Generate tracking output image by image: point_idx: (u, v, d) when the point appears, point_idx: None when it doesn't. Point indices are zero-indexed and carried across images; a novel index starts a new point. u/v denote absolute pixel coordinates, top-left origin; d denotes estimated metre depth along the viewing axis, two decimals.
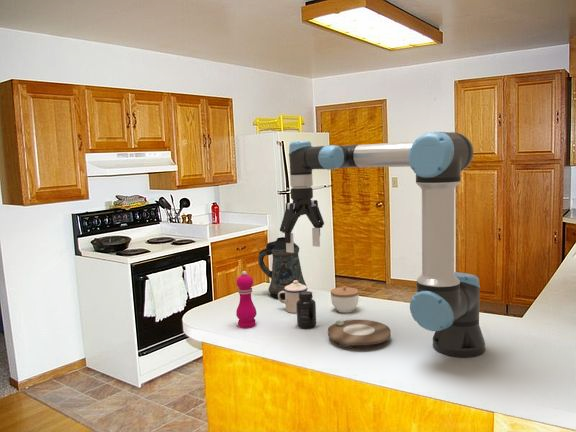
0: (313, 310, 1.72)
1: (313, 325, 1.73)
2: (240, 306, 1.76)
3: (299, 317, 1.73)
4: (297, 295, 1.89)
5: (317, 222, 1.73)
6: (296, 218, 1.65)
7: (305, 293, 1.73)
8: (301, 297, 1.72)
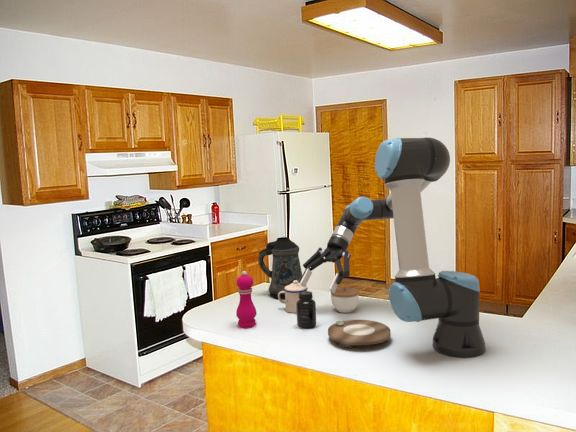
0: (313, 310, 1.72)
1: (313, 325, 1.73)
2: (240, 306, 1.76)
3: (299, 317, 1.73)
4: (297, 295, 1.89)
5: (339, 268, 1.78)
6: (318, 259, 1.87)
7: (305, 293, 1.73)
8: (301, 297, 1.72)
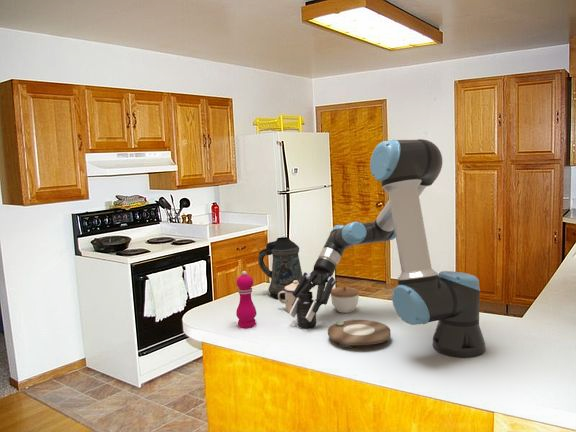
0: None
1: (313, 325, 1.73)
2: (240, 306, 1.76)
3: (299, 317, 1.73)
4: None
5: (317, 295, 1.73)
6: (306, 285, 1.79)
7: (305, 293, 1.73)
8: (301, 297, 1.72)
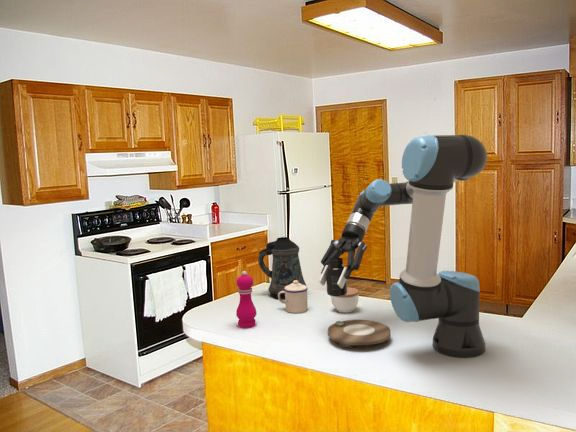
0: None
1: (344, 292, 1.64)
2: (240, 306, 1.76)
3: (329, 284, 1.64)
4: (297, 295, 1.89)
5: (348, 261, 1.64)
6: (335, 252, 1.70)
7: (335, 259, 1.64)
8: (331, 263, 1.63)
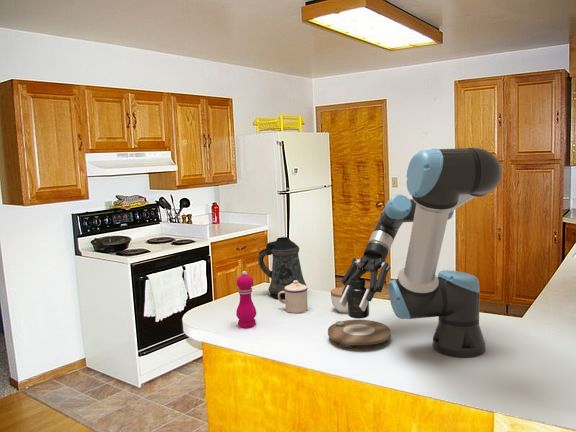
0: None
1: (366, 315, 1.58)
2: (240, 306, 1.76)
3: (351, 306, 1.58)
4: (297, 295, 1.89)
5: (371, 282, 1.58)
6: (357, 271, 1.63)
7: (357, 280, 1.58)
8: (353, 284, 1.57)
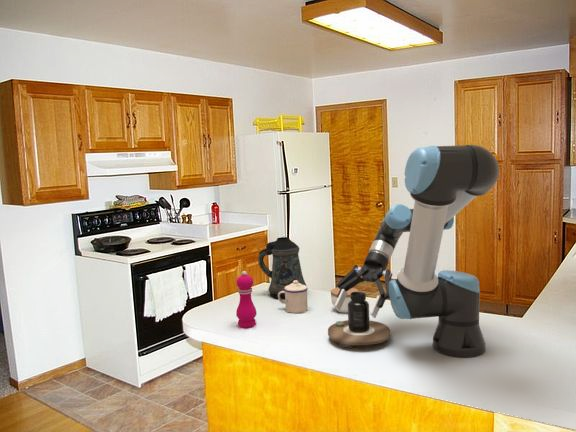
0: (367, 312, 1.57)
1: (367, 329, 1.58)
2: (240, 306, 1.76)
3: (351, 320, 1.58)
4: (297, 295, 1.89)
5: (380, 290, 1.57)
6: (354, 278, 1.65)
7: (358, 294, 1.58)
8: (354, 298, 1.57)
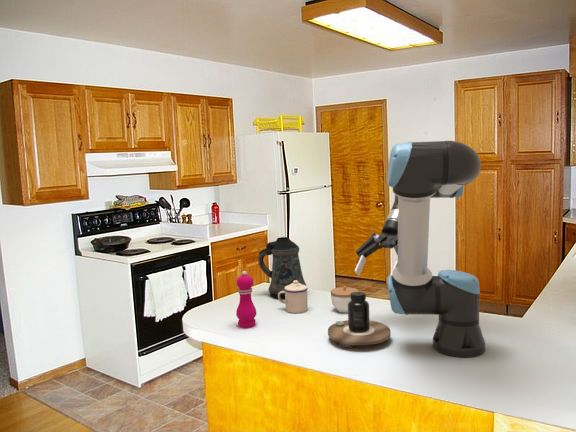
0: (367, 312, 1.57)
1: (367, 329, 1.58)
2: (240, 306, 1.76)
3: (351, 320, 1.58)
4: (297, 295, 1.89)
5: None
6: (373, 245, 1.73)
7: (358, 294, 1.58)
8: (354, 298, 1.57)
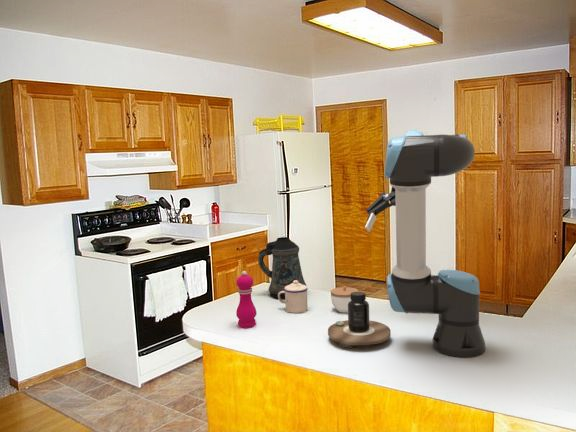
0: (367, 312, 1.57)
1: (367, 329, 1.58)
2: (240, 306, 1.76)
3: (351, 320, 1.58)
4: (297, 295, 1.89)
5: None
6: (383, 203, 1.80)
7: (358, 294, 1.58)
8: (354, 298, 1.57)
